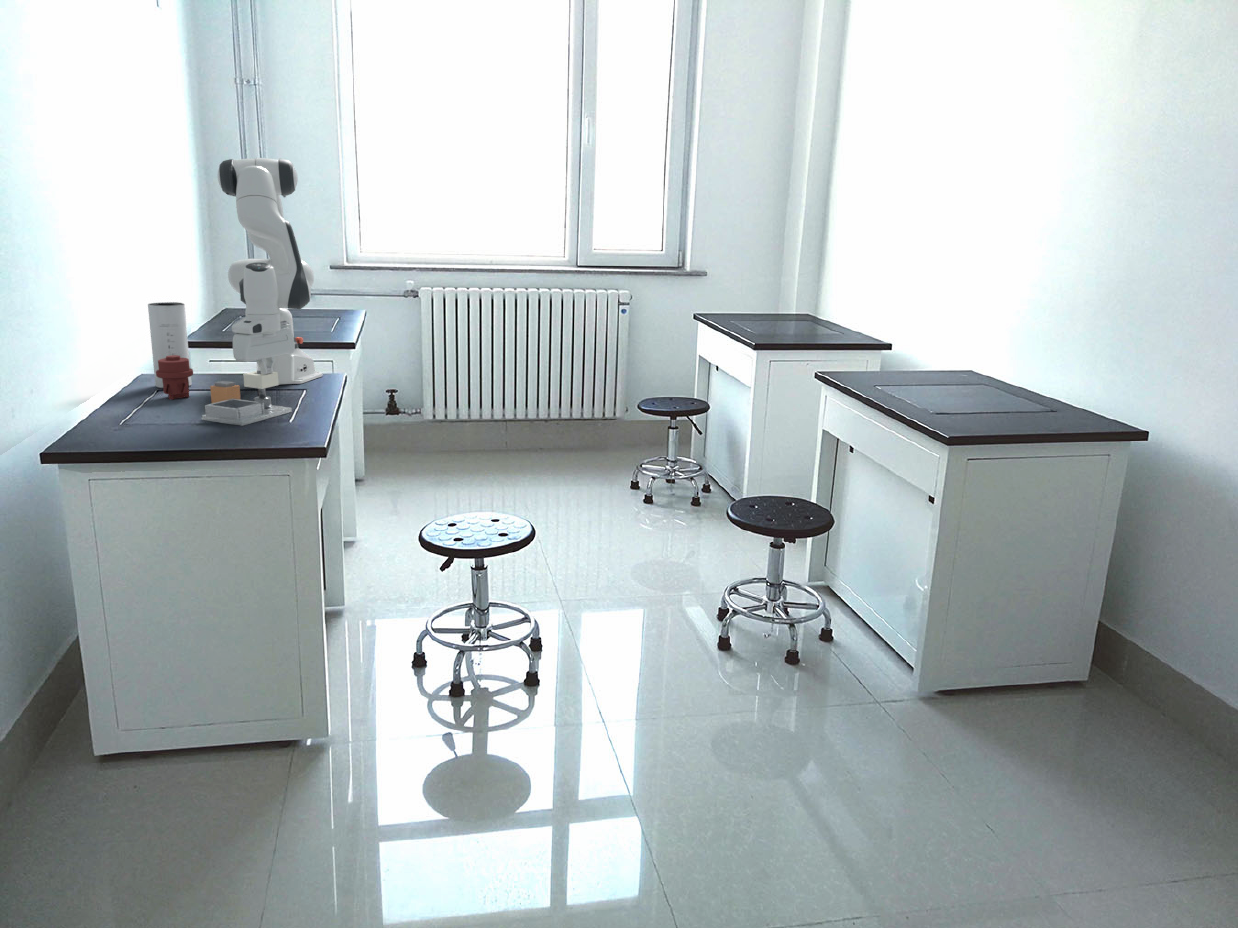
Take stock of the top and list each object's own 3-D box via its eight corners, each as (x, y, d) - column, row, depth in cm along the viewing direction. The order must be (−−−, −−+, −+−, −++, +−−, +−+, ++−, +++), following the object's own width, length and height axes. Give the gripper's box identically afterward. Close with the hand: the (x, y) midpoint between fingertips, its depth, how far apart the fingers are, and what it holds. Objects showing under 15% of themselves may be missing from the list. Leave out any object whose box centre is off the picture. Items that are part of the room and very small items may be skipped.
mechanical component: (202, 395, 292) (181, 401, 282) (172, 393, 293) (151, 399, 284) (198, 354, 288) (177, 359, 279) (168, 352, 290) (146, 357, 281)
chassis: (253, 406, 278) (249, 366, 275) (291, 411, 273) (289, 371, 270) (202, 419, 261) (198, 377, 258) (242, 425, 256) (238, 382, 253)
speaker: (194, 382, 310) (186, 300, 303) (190, 388, 300) (181, 304, 293) (158, 383, 307) (149, 300, 300) (152, 389, 297) (143, 304, 290)
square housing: (260, 382, 275) (259, 370, 274) (278, 385, 272) (277, 372, 271) (244, 386, 269) (243, 373, 268) (262, 388, 267) (261, 375, 266)
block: (225, 403, 282) (223, 379, 280) (241, 405, 279) (239, 381, 278) (211, 406, 277) (209, 382, 275) (228, 409, 275) (226, 384, 273)
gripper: (280, 319, 275) (284, 367, 279) (226, 327, 257) (231, 378, 261) (298, 320, 273) (301, 369, 277) (245, 328, 255) (249, 380, 259)
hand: (267, 373), depth 269 cm, fingers closed
